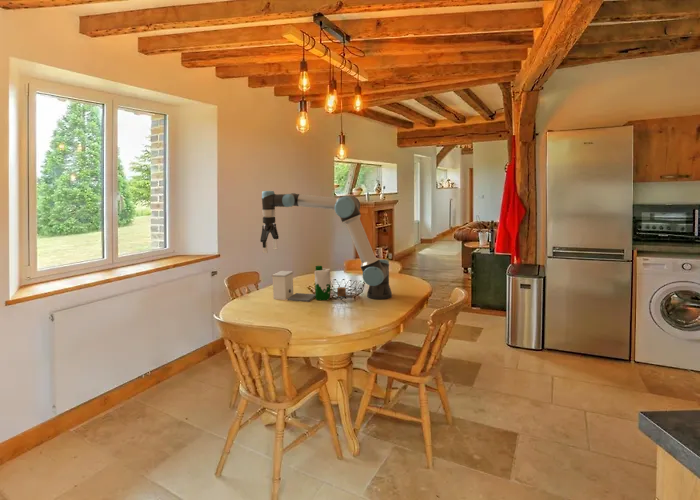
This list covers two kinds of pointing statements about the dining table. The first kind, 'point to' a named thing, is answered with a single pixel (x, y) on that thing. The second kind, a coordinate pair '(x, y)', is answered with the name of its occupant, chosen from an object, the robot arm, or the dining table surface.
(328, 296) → the soya milk
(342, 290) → the walnut block
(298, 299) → the pad
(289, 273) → the dispenser unit
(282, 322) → the dining table surface
